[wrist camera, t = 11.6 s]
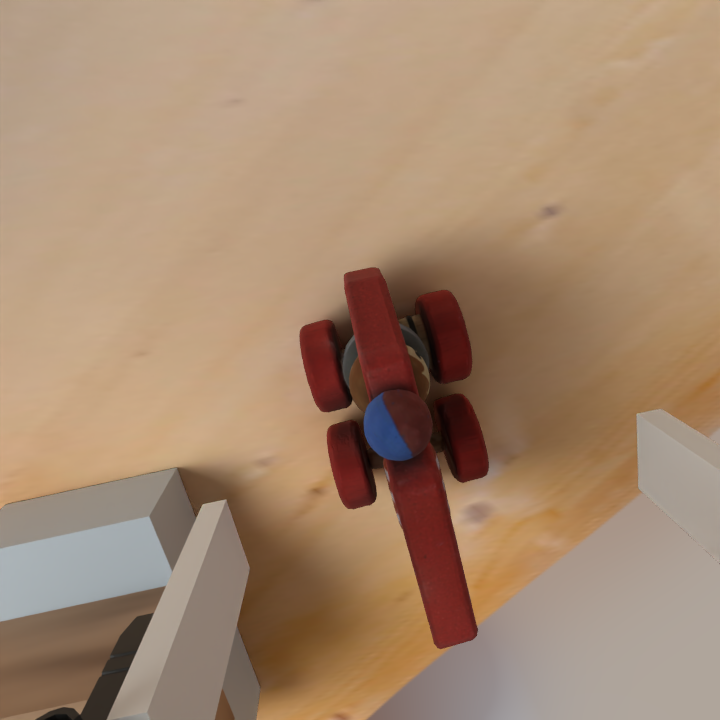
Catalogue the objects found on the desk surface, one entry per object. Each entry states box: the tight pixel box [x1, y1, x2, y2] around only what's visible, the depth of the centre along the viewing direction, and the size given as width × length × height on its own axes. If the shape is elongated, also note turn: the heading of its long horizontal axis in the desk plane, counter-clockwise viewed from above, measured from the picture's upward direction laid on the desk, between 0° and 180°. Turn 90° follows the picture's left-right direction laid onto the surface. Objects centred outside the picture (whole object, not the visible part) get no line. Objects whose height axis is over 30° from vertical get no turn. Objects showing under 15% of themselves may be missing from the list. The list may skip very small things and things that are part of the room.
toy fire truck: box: [300, 268, 489, 649], centre depth 19 cm, size 7×12×10 cm, turn 13°
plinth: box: [0, 468, 260, 720], centre depth 25 cm, size 16×9×4 cm, turn 12°
